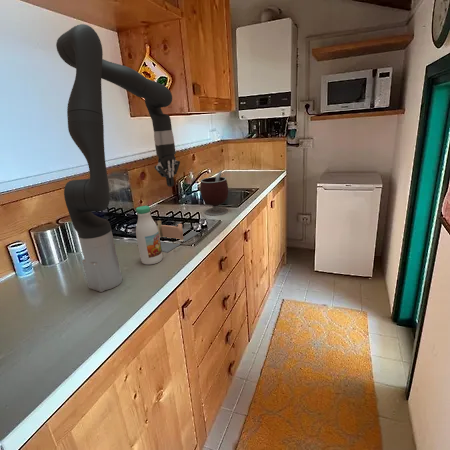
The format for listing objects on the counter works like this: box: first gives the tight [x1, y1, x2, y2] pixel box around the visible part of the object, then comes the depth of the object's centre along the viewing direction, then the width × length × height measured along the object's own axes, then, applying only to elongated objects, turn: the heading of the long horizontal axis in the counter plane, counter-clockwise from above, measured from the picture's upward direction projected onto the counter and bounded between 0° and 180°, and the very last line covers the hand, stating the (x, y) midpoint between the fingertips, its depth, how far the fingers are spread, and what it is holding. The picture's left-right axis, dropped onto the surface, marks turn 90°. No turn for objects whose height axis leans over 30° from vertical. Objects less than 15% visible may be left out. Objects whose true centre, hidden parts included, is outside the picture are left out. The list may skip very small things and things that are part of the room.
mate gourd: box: [200, 170, 229, 217], centre depth 153 cm, size 16×14×20 cm
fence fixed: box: [156, 220, 163, 237], centre depth 123 cm, size 12×2×7 cm, turn 148°
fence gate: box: [161, 223, 184, 240], centre depth 125 cm, size 10×2×6 cm, turn 62°
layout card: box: [160, 227, 202, 254], centre depth 126 cm, size 22×16×1 cm
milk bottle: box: [135, 205, 164, 265], centre depth 105 cm, size 8×8×20 cm
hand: (170, 186), depth 124 cm, fingers closed
